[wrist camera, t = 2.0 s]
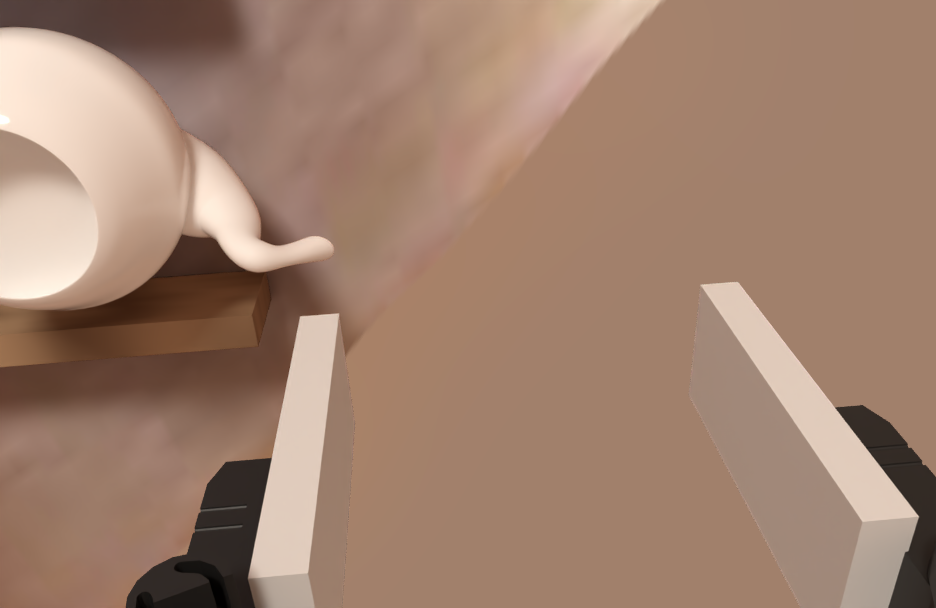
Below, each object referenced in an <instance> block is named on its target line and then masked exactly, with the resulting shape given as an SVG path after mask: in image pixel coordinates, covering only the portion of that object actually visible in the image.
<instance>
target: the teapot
mask: <svg viewBox="0 0 936 608" xmlns="http://www.w3.org/2000/svg"><path fill="white" fill-rule="evenodd" d="M181 235H186V236H191V237H201V238H208V237H212V238H213V239H215V240H216V241H217V242H218V243H219V245H220V247H221V248H222V250H223V251H224V252H225V254H226V255H227V256H228V257H229V258H230V259H231V260H232V261H233V262H234V263H235V264H237V265H238V266H240V267H241V268H243V269H245V270H248V271H251V272H257V273H259V272H267V271H272V270H275V269H279V268H283V267H286V266H291V265H296V264H302V263H310V262H318V261H324V260H327V259H329V258H331V257H332V255H333V254H334V246H333V244H332V243H331V242H330V241H329V240H327V239H325V238H323V237H318V236H310V237H306V238H304V239H301V240H298V241H295V242H292V243H289V244H285V245H279V246H276V245H271V244H269V243H266V242H264V241H262V240H261V219H260V214H259V211H258V209H257V206H256V204H255V202H254V200H253V199H252V197H251V195H250V194H249V192H248V190H247V189H246V187H245V186H244V184H243V183H242V181H241V180H240V178H239V177H238V175H237V174H236V173H235V171H234V170H233V169H232V168H231V166H230V165H229V164H228V163H227V162H226V161H225V160H224V159H223V158H222V157H221V156H220V155H219V154H218V153H217V152H216V151H215V150H213V149H212V148H211V147H209V146H208V145H207V144H205V143H204V142H202V141H201V140H199V139H198V138H196V137H195V136H193V135H191V134H189V133H187V132H186V131H184V130H182V129H180V128H179V125H178V123H177V121H176V119H175V117H174V116H173V114H172V112H171V111H170V109H169V107H168V106H167V104H166V103H165V101H164V100H163V99H162V97H161V96H160V95H159V94H158V92H157V91H156V90H155V89H154V88H153V87H152V85H151V84H150V83H149V82H148V81H147V80H146V79H145V78H144V77H143V76H142V75H140V74H139V73H138V72H137V71H136V70H135V69H133V68H132V67H131V66H130V65H128V64H127V63H126V62H124V61H123V60H121V59H120V58H118V57H117V56H115V55H114V54H112V53H110V52H108V51H107V50H105V49H103V48H101V47H99V46H97V45H95V44H93V43H90V42H88V41H85V40H83V39H80V38H77V37H75V36H71V35H68V34H65V33H61V32H56V31H52V30H46V29H40V28H30V27H3V28H0V305H2V306H6V307H11V308H18V309H26V310H48V311H68V310H79V309H86V308H91V307H95V306H99V305H103V304H106V303H109V302H112V301H114V300H117V299H119V298H121V297H123V296H125V295H127V294H129V293H131V292H132V291H134V290H136V289H137V288H139V287H140V286H142V285H143V284H144V283H146V282H147V281H148V280H149V279H150V278H151V277H153V276H154V275H155V274H156V273H157V272H158V270H159V269H160V268H161V267H162V266H163V265H164V264H165V262H166V261H167V260H168V258H169V257H170V255H171V254H172V252H173V251H174V249H175V247H176V246H177V244H178V242H179V240H180V238H181Z"/></svg>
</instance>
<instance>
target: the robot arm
mask: <svg viewBox="0 0 936 608" xmlns="http://www.w3.org/2000/svg"><path fill="white" fill-rule="evenodd" d="M689 397H690V399H691V400H692V402H693V404H694V406H695V408H696V410H697V412H698V414H699V416H700V418H701V419H702V421H703V423H704V425H705V427H706V429H707V431H708V433H709V435H710V437H711V439H712V440H713V442H714V444H715V446H716V448H717V450H718V452H719V454H720V456H721V457H722V459H723V461H724V463H725V465H726V467H727V469H728V471H729V473H730V475H731V476H732V478H733V480H734V482H735V484H736V486H737V487H738V490H739V492H740V493H741V495H742V497H743V499H744V501H745V503H746V505H747V507H748V509H749V511H750V513H751V514H752V516H753V518H754V520H755V522H756V524H757V526H758V528H759V530H760V531H761V534H762V535H763V537H764V539H765V541H766V543H767V545H768V547H769V549H770V551H771V552H772V554H773V556H774V558H775V560H776V562H777V564H778V566H779V568H780V570H781V572H782V573H783V575H784V577H785V579H786V581H787V583H788V585H789V587H790V588H791V591H792V592H793V594H794V596H795V598H796V600H797V602H798V604H799V606H800V608H936V477H935V476H934V474H933V473H932V472H931V471H930V470H929V468H928V467H927V466H926V465H923V464H922V460H921V459H920V458H919V457H918V455H917V454H916V453H915V452H914V451H913V450H912V448H908V446H907V445H908V444H907V442H906V441H905V440H904V439H903V438H902V437H901V435H900V434H899V433H898V432H897V431H896V429H895V428H894V427H893V426H892V425H891V424H890V423H889V422H888V421H886V420H885V419H883V418H882V417H880V416H879V415H877V414H875V413H874V412H872V411H871V410H869V409H867V408H866V407H864V406H863V405H860V406H848V407H837V408H835V407H834V406H833V405H832V403H831V402H830V401H829V400H828V398H827V397H826V396H825V394H824V393H823V392H822V390H821V389H820V388H819V387H818V385H817V384H816V383H815V381H814V380H813V379H812V378H811V376H810V375H809V374H808V372H807V371H806V370H805V369H804V367H803V366H802V365H801V363H800V362H799V361H798V359H797V358H796V357H795V355H794V354H793V353H792V352H791V350H790V349H789V348H788V346H787V345H786V344H785V343H784V341H783V340H782V339H781V337H780V336H779V335H778V333H777V332H776V331H775V330H774V328H773V327H772V326H771V324H770V323H769V322H768V321H767V319H766V318H765V317H764V316H763V314H762V313H761V311H760V310H759V309H758V308H757V306H756V305H755V304H754V302H753V301H752V300H751V299H750V297H749V296H748V295H747V293H746V292H745V291H744V289H743V288H742V287H741V286H740V284H739V283H738V282H731V283H718V284H705V285H701V286H700V296H699V304H698V314H697V323H696V333H695V342H694V351H693V361H692V370H691V379H690V390H689ZM354 431H355V420H354V413H353V406H352V399H351V393H350V386H349V379H348V372H347V365H346V358H345V351H344V344H343V337H342V331H341V324H340V317H339V313H338V314H325V315H313V316H300V320H299V325H298V330H297V335H296V340H295V345H294V350H293V355H292V360H291V365H290V370H289V375H288V380H287V385H286V390H285V395H284V400H283V405H282V410H281V415H280V420H279V425H278V430H277V435H276V440H275V445H274V450H273V455H272V458H267V459H255V460H244V461H232V462H226V463H225V464H224V465H223V466H222V467H221V469H220V470H219V471H218V472H217V473H216V475H215V476H214V477H213V478H212V479H211V480H210V482H209V483H208V484H207V487H206V491H205V494H204V497H203V501H202V504H201V508H200V509H201V512H200V513H199V515H198V518H197V521H196V525H195V533H193V535H192V539H191V542H190V545H189V549H188V552H187V554H186V555H182V556H177V557H172V558H170V559H168V560H166V561H164V562H162V563H160V564H158V565H156V566H154V567H153V568H151V569H150V570H149V571H148V572H147V573H146V574H145V575H143V576H142V577H141V578H140V579H139V580H138V581H137V582H136V584H135V585H134V587H133V588H132V590H131V592H130V593H129V595H128V597H127V603H126V608H342V604H343V589H344V575H345V561H346V545H347V532H348V518H349V503H350V488H351V475H352V460H353V445H354Z"/></svg>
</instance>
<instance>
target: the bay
mask: <svg viewBox="0 0 936 608" xmlns="http://www.w3.org/2000/svg"><path fill="white" fill-rule="evenodd" d="M270 301H271V296H270V290H269V285H268V280H267V275H266V272H259V273H257V272H251V271H242V272H229V273H215V274H202V275H189V276H176V277H163V278H150V279H149V280H148V281H147V282H146V283H144V284H143V285H142V286H140V287H139V288H137V289H136V290H134V291H132V292H131V293H129V294H127V295H125V296H123V297H121V298H119V299H117V300H114V301H112V302H109V303H106V304H103V305H99V306H95V307H91V308H86V309H79V310H68V311H48V310H26V309H18V308H11V307H6V306H2V305H0V367H9V366H21V365H34V364H46V363H59V362H71V361H84V360H96V359H109V358H121V357H134V356H146V355H159V354H171V353H184V352H196V351H209V350H221V349H234V348H246V347H258V346H259V342H260V338H261V335H262V331H263V327H264V324H265V320H266V316H267V313H268V309H269V305H270Z"/></svg>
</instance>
